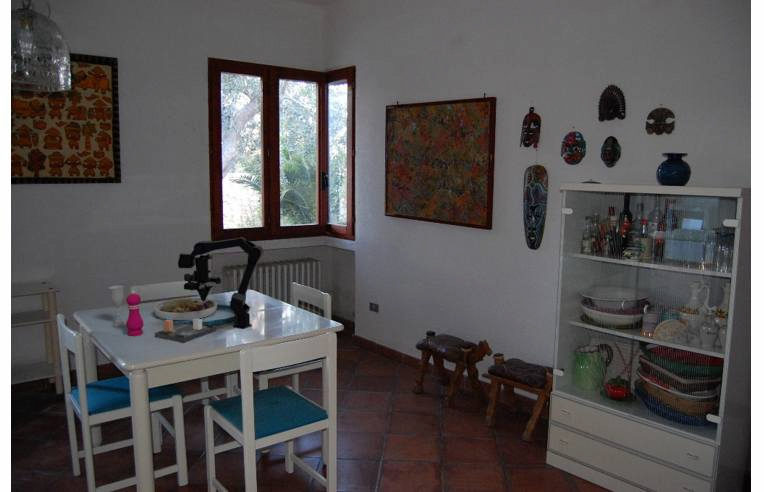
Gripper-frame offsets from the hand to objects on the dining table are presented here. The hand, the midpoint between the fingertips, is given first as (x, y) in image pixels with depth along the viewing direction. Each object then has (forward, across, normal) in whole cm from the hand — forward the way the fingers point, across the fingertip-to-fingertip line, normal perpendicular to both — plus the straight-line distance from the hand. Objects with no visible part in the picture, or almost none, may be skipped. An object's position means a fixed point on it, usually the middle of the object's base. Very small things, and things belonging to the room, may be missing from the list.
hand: (203, 301), depth 273 cm
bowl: (+13, -12, -23) cm, 29 cm away
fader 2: (+9, +11, +6) cm, 16 cm away
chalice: (+12, +17, -37) cm, 43 cm away
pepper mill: (+12, +24, -18) cm, 32 cm away
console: (+12, +13, +2) cm, 18 cm away
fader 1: (+9, +19, -3) cm, 21 cm away
